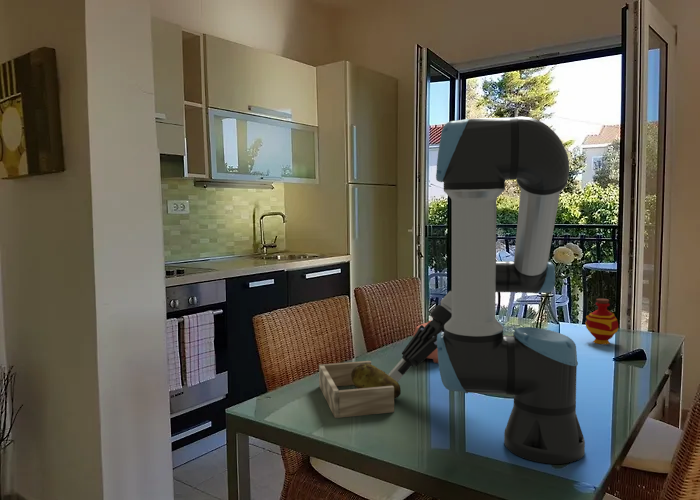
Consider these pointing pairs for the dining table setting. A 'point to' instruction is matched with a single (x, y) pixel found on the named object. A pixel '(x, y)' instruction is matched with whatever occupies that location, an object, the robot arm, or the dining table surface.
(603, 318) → the red yellow vase
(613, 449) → the dining table surface
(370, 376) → the potato
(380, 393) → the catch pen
